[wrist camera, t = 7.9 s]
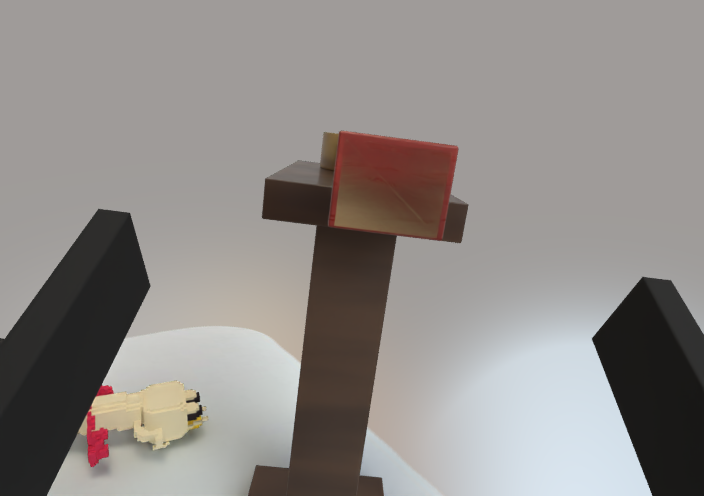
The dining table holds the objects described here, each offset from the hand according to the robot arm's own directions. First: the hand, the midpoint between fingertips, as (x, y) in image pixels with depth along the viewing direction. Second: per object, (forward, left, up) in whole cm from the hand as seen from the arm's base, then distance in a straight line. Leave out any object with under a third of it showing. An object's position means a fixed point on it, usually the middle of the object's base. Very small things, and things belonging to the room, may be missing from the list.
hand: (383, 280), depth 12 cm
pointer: (-9, +9, +1) cm, 13 cm away
